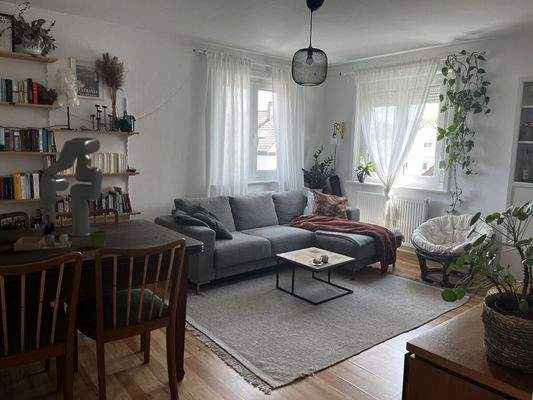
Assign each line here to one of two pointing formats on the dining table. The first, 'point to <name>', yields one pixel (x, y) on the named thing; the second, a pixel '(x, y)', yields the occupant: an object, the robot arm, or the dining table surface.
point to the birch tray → (56, 245)
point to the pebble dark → (50, 240)
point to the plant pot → (98, 238)
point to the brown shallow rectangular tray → (29, 243)
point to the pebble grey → (63, 240)
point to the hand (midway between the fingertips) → (49, 232)
